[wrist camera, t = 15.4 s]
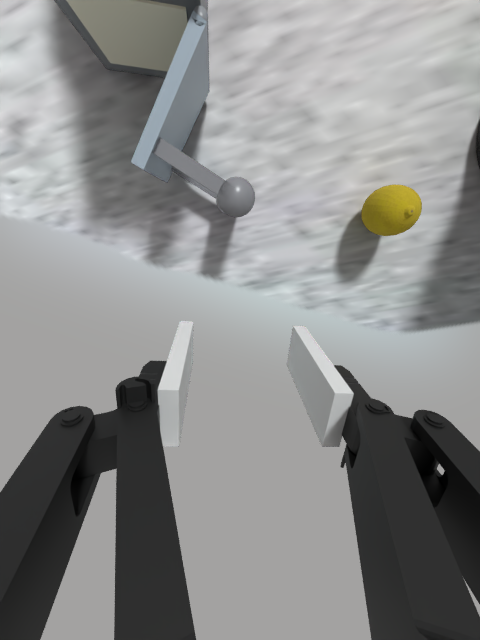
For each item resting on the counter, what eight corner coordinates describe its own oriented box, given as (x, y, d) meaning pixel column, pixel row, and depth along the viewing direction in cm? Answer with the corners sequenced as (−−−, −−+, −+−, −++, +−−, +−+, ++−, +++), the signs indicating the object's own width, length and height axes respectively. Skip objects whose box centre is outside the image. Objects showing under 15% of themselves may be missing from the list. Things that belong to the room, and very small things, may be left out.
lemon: (397, 217, 37) (444, 219, 30) (360, 241, 38) (396, 249, 30) (383, 177, 35) (429, 169, 28) (343, 203, 36) (378, 202, 28)
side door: (202, 80, 29) (196, 1, 18) (278, 137, 31) (314, 99, 20) (159, 177, 32) (130, 161, 21) (231, 222, 34) (240, 230, 23)
